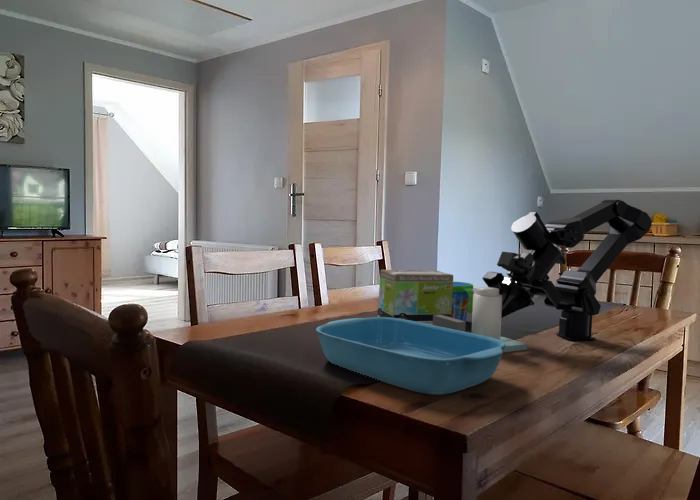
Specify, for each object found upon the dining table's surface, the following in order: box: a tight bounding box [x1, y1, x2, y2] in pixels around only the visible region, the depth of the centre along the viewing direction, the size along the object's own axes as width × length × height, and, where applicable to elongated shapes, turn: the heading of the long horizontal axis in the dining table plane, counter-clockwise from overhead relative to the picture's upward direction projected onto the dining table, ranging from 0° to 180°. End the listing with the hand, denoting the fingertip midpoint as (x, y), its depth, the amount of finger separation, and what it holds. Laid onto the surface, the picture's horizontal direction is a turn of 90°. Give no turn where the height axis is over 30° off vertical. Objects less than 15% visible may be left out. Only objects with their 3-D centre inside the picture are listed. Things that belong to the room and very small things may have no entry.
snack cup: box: [451, 281, 475, 322], centre depth 149 cm, size 16×10×10 cm
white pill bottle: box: [471, 286, 502, 340], centre depth 119 cm, size 6×6×11 cm
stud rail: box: [433, 315, 528, 353], centre depth 119 cm, size 19×8×7 cm, turn 119°
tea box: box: [377, 269, 454, 325], centre depth 133 cm, size 15×10×15 cm
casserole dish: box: [315, 316, 505, 396], centre depth 101 cm, size 37×22×7 cm, turn 43°
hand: (498, 316), depth 121 cm, fingers closed, pressing on white pill bottle
